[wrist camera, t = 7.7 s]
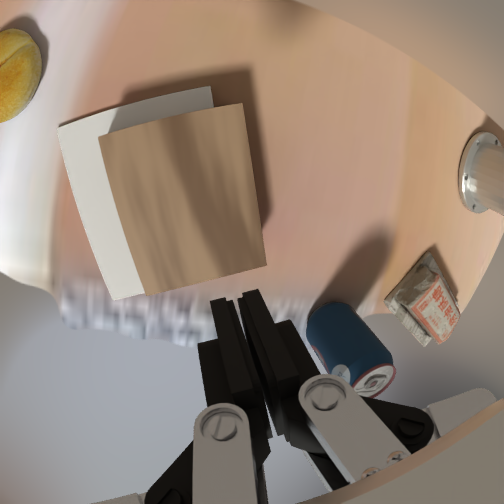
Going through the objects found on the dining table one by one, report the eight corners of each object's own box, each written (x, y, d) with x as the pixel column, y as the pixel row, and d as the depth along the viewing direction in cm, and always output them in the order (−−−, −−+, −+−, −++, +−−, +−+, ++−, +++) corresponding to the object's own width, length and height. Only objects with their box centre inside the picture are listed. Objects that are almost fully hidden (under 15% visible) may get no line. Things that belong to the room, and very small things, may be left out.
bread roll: (0, 138, 20) (-21, 144, 17) (-34, 76, 16) (-55, 75, 12) (61, 78, 20) (45, 74, 17) (24, 17, 16) (7, 7, 12)
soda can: (292, 336, 39) (332, 407, 28) (319, 292, 37) (371, 359, 26) (333, 343, 41) (375, 405, 31) (359, 303, 39) (411, 361, 29)
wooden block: (242, 103, 21) (97, 136, 20) (266, 265, 28) (146, 296, 26) (232, 104, 25) (107, 133, 23) (255, 246, 31) (147, 274, 30)
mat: (209, 86, 24) (210, 85, 24) (241, 266, 32) (242, 268, 32) (58, 128, 22) (56, 128, 21) (113, 298, 30) (113, 300, 30)
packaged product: (398, 319, 37) (447, 263, 35) (379, 300, 41) (424, 248, 39) (434, 358, 45) (471, 316, 43) (419, 342, 49) (454, 302, 48)
